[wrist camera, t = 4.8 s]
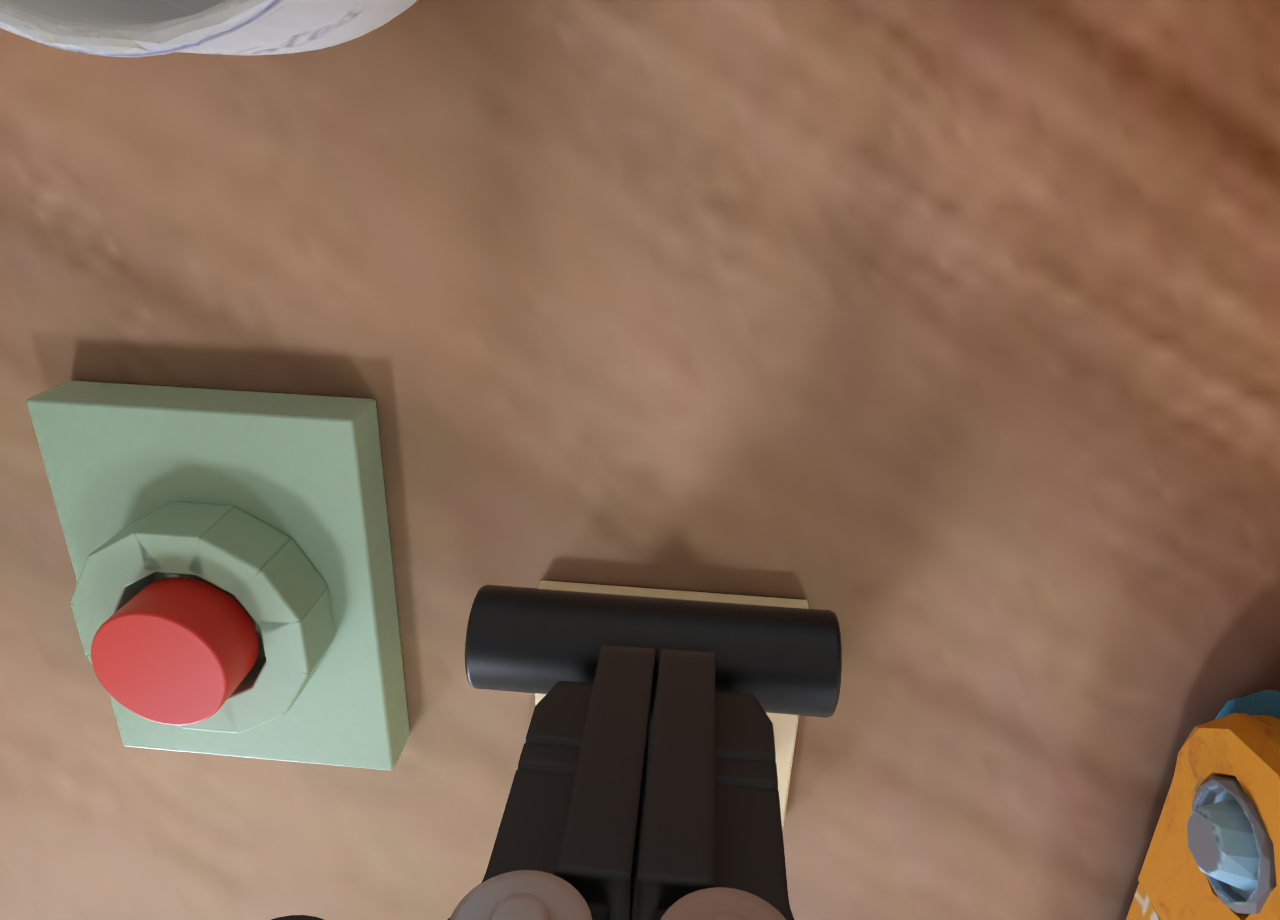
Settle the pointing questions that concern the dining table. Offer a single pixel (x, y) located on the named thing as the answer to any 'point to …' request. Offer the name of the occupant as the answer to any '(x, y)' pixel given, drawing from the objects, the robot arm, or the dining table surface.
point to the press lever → (654, 643)
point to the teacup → (195, 24)
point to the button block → (241, 553)
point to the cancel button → (175, 651)
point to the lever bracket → (781, 722)
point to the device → (1219, 822)
